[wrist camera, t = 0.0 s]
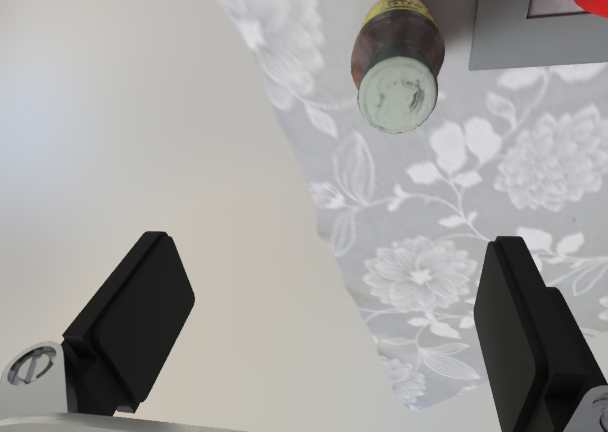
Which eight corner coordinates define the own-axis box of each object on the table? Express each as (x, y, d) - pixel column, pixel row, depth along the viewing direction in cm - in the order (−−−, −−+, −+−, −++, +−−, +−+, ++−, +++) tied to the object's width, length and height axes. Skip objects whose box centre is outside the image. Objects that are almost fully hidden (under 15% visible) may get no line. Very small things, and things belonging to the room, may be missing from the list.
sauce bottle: (445, 24, 34) (501, 98, 19) (395, 78, 38) (406, 180, 22) (392, -29, 33) (404, 3, 17) (344, 33, 36) (317, 108, 20)
